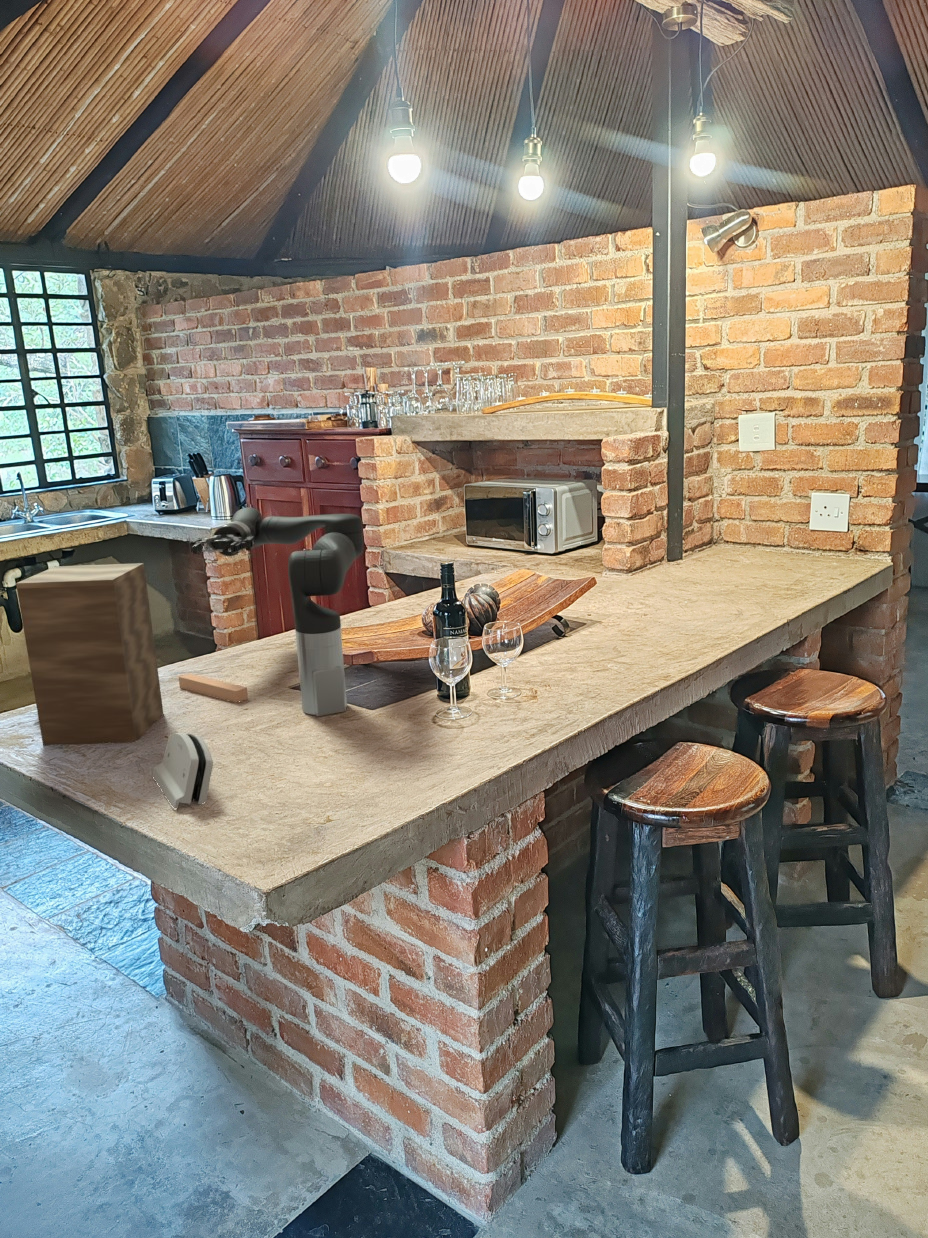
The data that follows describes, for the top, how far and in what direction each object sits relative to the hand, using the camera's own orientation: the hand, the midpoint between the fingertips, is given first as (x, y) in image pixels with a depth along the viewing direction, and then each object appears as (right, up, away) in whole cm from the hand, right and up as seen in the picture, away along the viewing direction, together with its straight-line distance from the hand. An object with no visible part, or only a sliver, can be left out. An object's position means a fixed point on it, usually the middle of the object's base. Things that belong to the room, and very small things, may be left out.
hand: (214, 549), depth 206 cm
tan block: (+1, -33, -5) cm, 33 cm away
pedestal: (-15, -38, -24) cm, 47 cm away
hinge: (+10, -45, -53) cm, 70 cm away
